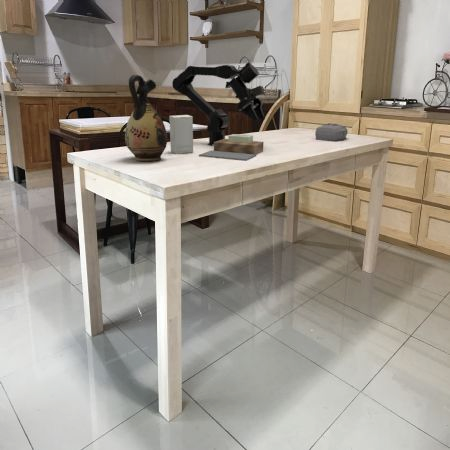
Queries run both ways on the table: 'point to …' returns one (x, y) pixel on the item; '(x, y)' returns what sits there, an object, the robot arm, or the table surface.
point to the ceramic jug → (144, 124)
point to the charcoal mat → (228, 155)
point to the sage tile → (240, 138)
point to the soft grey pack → (331, 132)
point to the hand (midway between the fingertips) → (260, 120)
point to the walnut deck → (238, 147)
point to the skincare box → (181, 134)
